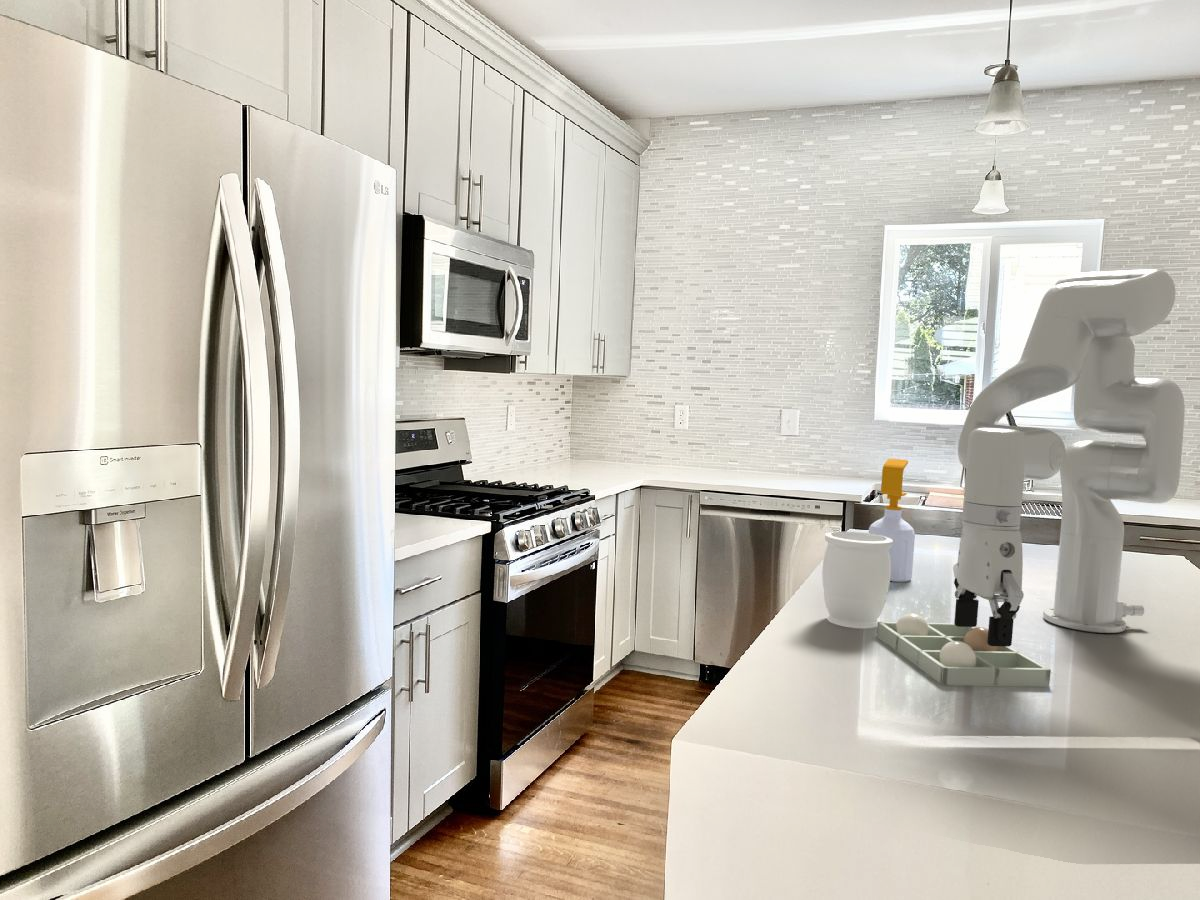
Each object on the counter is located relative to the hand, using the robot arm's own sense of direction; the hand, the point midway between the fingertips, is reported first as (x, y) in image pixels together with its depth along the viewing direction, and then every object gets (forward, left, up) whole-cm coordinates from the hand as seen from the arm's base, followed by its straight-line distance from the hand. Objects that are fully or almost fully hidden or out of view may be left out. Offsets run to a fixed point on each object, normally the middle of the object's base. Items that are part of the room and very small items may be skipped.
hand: (981, 635), depth 127 cm
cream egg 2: (+7, +7, -3) cm, 10 cm away
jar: (+12, -19, -5) cm, 23 cm away
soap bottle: (-10, -57, -5) cm, 58 cm away
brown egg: (0, 0, -3) cm, 3 cm away
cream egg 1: (+7, -7, -3) cm, 10 cm away
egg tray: (+4, 0, -4) cm, 6 cm away
